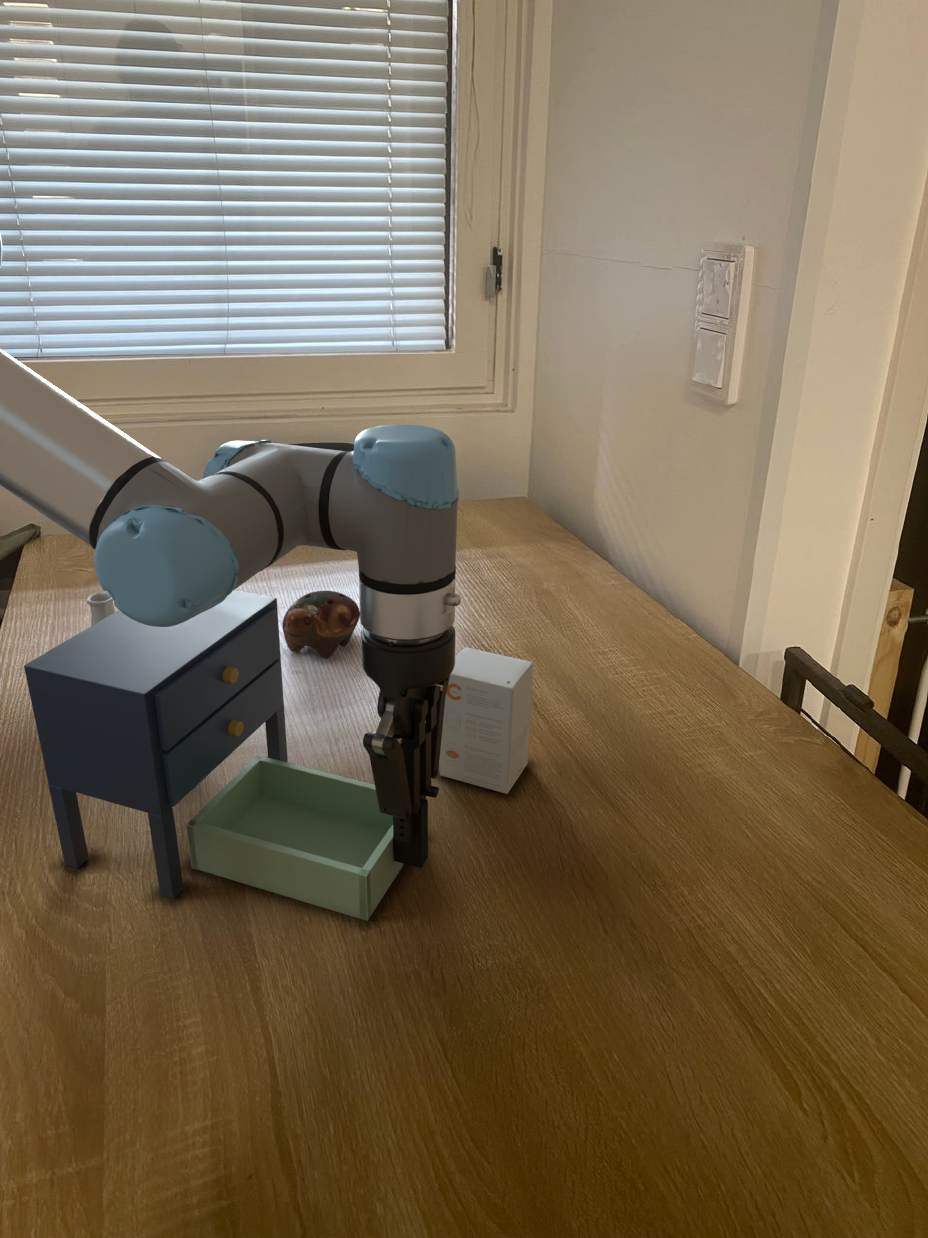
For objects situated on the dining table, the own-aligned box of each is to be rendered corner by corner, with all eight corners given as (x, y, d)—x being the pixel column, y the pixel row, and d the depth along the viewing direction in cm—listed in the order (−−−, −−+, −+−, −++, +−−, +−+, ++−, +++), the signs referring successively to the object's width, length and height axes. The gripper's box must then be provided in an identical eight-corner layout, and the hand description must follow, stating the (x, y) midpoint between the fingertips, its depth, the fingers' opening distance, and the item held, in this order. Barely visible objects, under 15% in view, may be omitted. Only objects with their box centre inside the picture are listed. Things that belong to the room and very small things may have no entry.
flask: (124, 684, 114) (113, 611, 109) (70, 678, 115) (57, 606, 110) (151, 657, 120) (141, 588, 116) (100, 651, 121) (88, 583, 117)
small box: (528, 764, 101) (535, 661, 95) (507, 796, 95) (513, 688, 90) (461, 746, 103) (464, 644, 98) (437, 776, 98) (439, 670, 92)
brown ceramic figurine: (264, 666, 119) (259, 609, 116) (315, 625, 132) (311, 573, 129) (332, 675, 116) (328, 617, 113) (377, 633, 130) (375, 579, 127)
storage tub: (191, 868, 84) (185, 824, 82) (261, 794, 94) (257, 754, 92) (367, 921, 79) (366, 876, 76) (421, 837, 89) (421, 796, 87)
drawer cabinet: (64, 864, 84) (23, 665, 75) (194, 751, 101) (173, 577, 92) (187, 903, 80) (159, 698, 71) (300, 779, 97) (289, 600, 88)
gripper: (419, 670, 65) (421, 919, 76) (480, 601, 76) (474, 826, 87) (327, 652, 68) (340, 896, 78) (398, 587, 79) (402, 808, 89)
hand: (411, 859), depth 82 cm, fingers closed
